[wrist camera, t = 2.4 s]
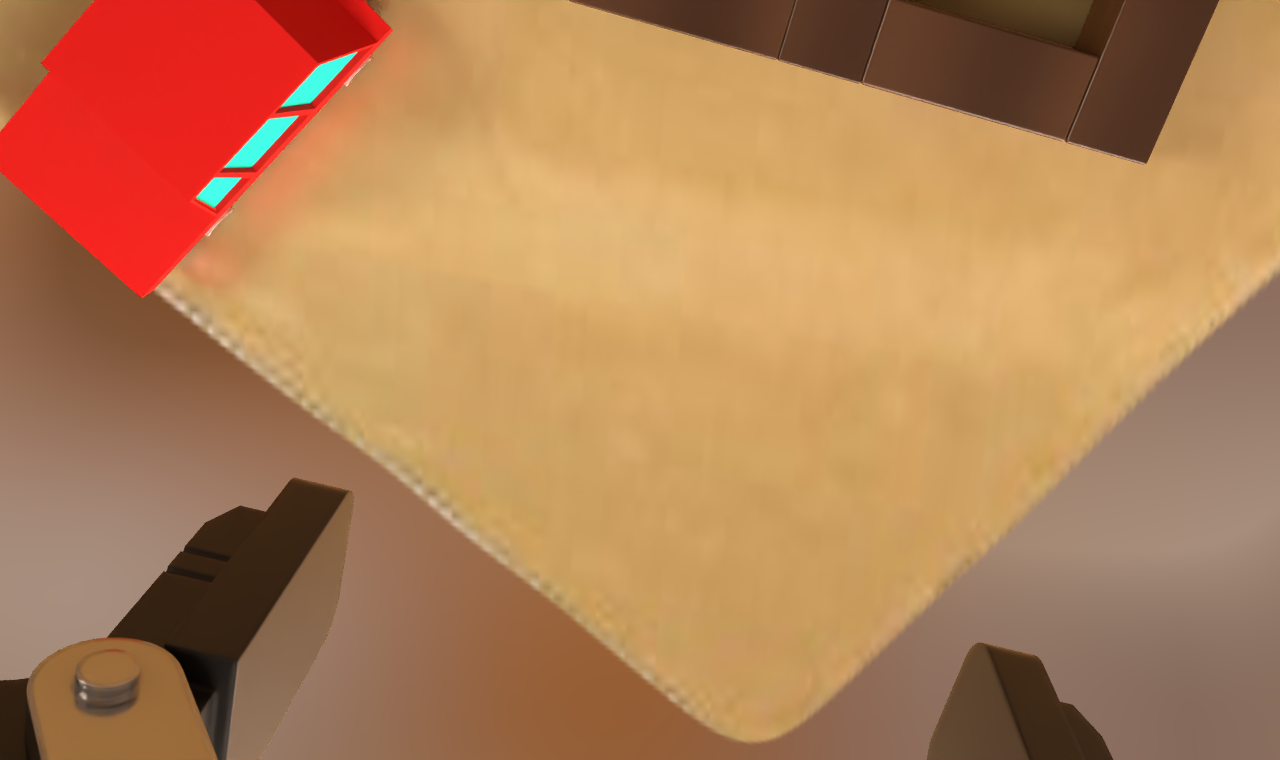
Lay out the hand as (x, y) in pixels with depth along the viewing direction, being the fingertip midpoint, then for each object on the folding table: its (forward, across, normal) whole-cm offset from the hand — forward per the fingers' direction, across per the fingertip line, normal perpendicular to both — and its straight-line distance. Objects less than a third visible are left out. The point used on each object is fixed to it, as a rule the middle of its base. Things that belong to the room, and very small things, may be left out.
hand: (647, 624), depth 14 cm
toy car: (+23, +16, 0) cm, 28 cm away
